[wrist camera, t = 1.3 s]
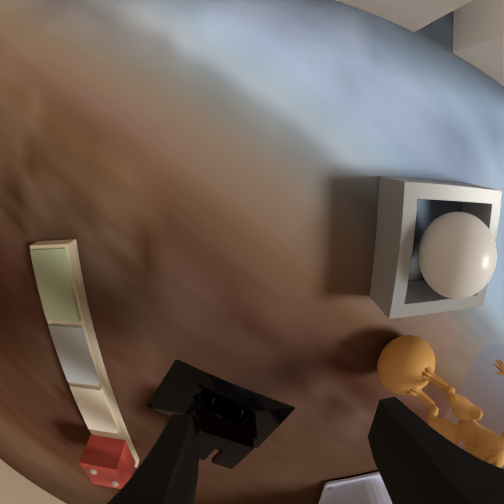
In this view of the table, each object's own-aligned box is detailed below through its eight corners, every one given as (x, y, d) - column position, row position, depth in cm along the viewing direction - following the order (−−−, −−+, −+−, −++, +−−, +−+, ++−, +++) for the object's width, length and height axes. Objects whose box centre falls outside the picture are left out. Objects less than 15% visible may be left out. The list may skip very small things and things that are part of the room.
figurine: (407, 288, 19) (530, 408, 7) (459, 316, 20) (562, 414, 8) (341, 387, 21) (397, 529, 9) (398, 401, 22) (461, 515, 10)
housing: (457, 287, 19) (482, 305, 16) (369, 296, 19) (389, 319, 16) (471, 184, 17) (501, 191, 14) (379, 176, 17) (404, 181, 14)
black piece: (127, 396, 21) (109, 439, 17) (162, 329, 20) (144, 373, 15) (266, 452, 23) (269, 494, 19) (318, 399, 22) (332, 444, 17)
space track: (140, 459, 23) (130, 498, 18) (105, 454, 23) (93, 490, 18) (77, 238, 17) (37, 264, 12) (33, 241, 17) (-10, 264, 12)
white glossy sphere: (457, 277, 17) (501, 308, 13) (399, 282, 17) (439, 319, 13) (467, 206, 16) (518, 223, 12) (407, 203, 16) (457, 221, 11)
